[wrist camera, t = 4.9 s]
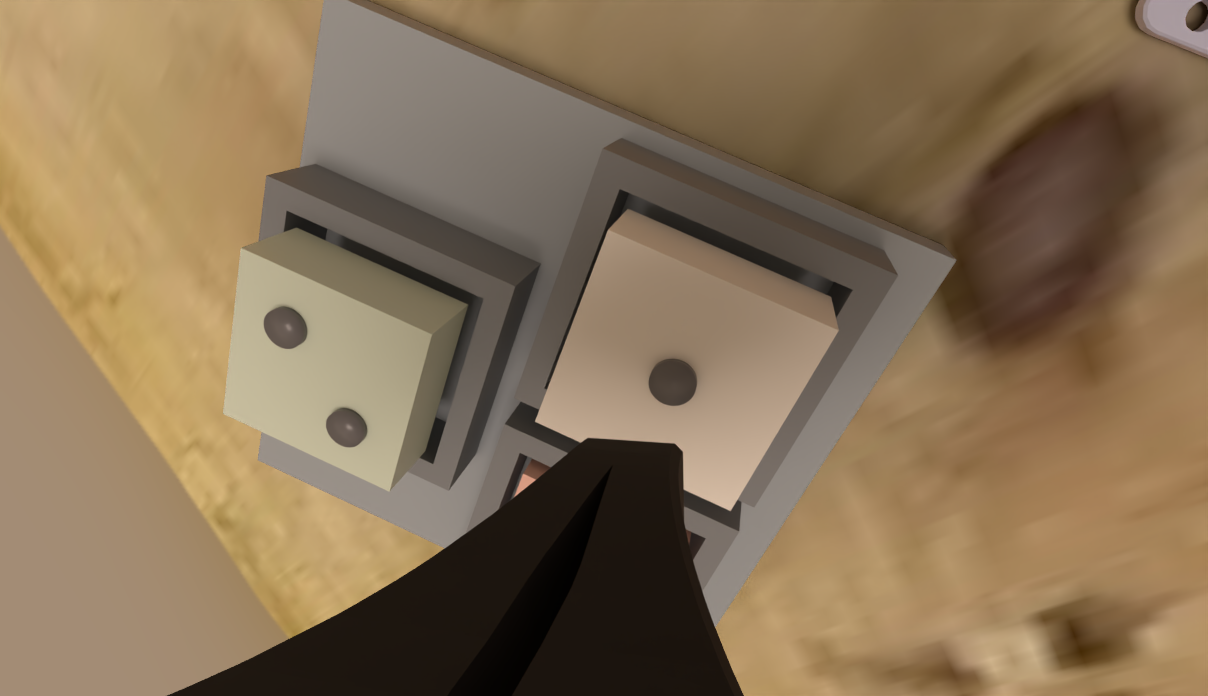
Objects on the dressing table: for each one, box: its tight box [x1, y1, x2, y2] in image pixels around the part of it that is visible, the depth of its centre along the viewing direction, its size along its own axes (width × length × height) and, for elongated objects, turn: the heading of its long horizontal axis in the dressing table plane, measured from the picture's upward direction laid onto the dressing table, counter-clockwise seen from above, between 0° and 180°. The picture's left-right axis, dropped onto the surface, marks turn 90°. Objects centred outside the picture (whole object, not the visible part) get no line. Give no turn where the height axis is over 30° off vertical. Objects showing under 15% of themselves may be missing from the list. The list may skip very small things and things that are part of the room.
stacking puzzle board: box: [258, 0, 956, 627], centre depth 17 cm, size 15×14×3 cm
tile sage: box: [223, 228, 468, 492], centre depth 15 cm, size 4×4×2 cm
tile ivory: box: [535, 209, 839, 511], centre depth 13 cm, size 4×4×2 cm
